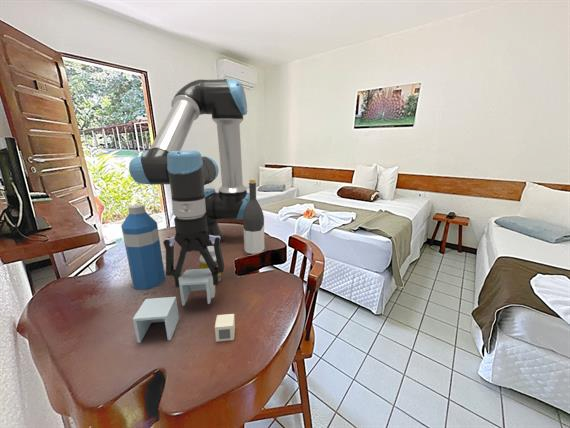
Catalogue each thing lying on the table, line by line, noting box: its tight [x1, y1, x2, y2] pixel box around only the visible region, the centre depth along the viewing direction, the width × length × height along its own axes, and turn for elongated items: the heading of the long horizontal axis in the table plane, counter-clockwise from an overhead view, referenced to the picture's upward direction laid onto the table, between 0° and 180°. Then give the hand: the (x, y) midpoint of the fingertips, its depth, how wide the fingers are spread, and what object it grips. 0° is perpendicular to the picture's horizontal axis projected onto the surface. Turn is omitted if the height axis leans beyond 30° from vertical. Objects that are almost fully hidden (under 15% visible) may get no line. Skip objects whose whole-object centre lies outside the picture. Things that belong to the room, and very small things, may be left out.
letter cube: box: [214, 313, 236, 342], centre depth 56 cm, size 4×4×4 cm
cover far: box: [179, 268, 212, 306], centre depth 66 cm, size 7×7×6 cm
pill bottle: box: [199, 245, 222, 283], centre depth 78 cm, size 6×6×11 cm
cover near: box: [132, 296, 180, 344], centre depth 57 cm, size 7×7×6 cm
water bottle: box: [120, 204, 166, 291], centre depth 74 cm, size 9×9×25 cm
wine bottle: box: [242, 178, 266, 255], centre depth 94 cm, size 8×8×30 cm
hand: (198, 295), depth 66 cm, fingers closed on cover far, 7 cm apart
